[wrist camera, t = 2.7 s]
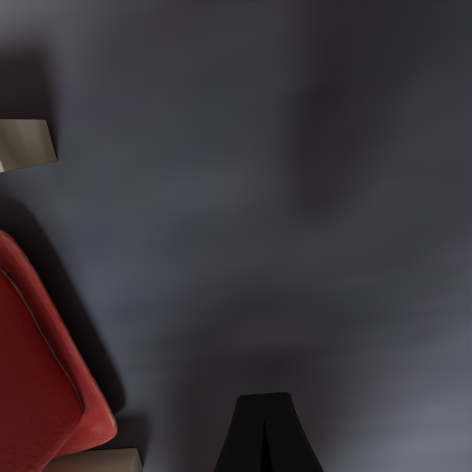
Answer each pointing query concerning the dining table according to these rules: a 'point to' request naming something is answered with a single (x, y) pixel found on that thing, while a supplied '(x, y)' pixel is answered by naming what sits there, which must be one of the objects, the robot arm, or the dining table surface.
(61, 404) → the butter dish
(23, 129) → the bar
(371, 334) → the dining table surface
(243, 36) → the dining table surface
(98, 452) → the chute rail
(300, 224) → the dining table surface
